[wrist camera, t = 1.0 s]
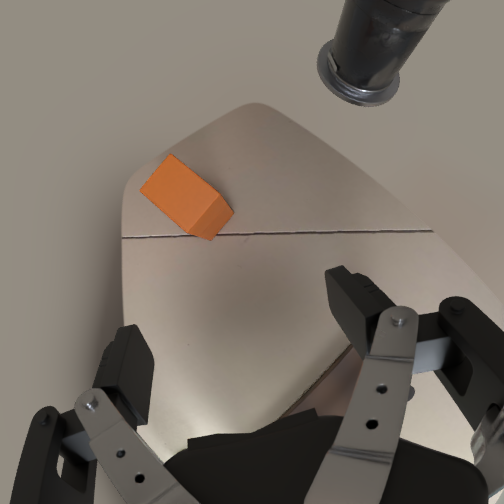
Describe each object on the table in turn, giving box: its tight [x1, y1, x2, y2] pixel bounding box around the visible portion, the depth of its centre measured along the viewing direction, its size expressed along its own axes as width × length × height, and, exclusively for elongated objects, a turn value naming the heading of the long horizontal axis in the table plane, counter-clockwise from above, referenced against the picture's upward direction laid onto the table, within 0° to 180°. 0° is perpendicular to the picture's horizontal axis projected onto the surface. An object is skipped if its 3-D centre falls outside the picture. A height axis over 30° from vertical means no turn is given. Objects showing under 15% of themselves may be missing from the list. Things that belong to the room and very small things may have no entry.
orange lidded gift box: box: [140, 154, 234, 240], centre depth 30 cm, size 4×6×11 cm
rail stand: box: [280, 344, 415, 419], centre depth 29 cm, size 24×7×11 cm, turn 140°
